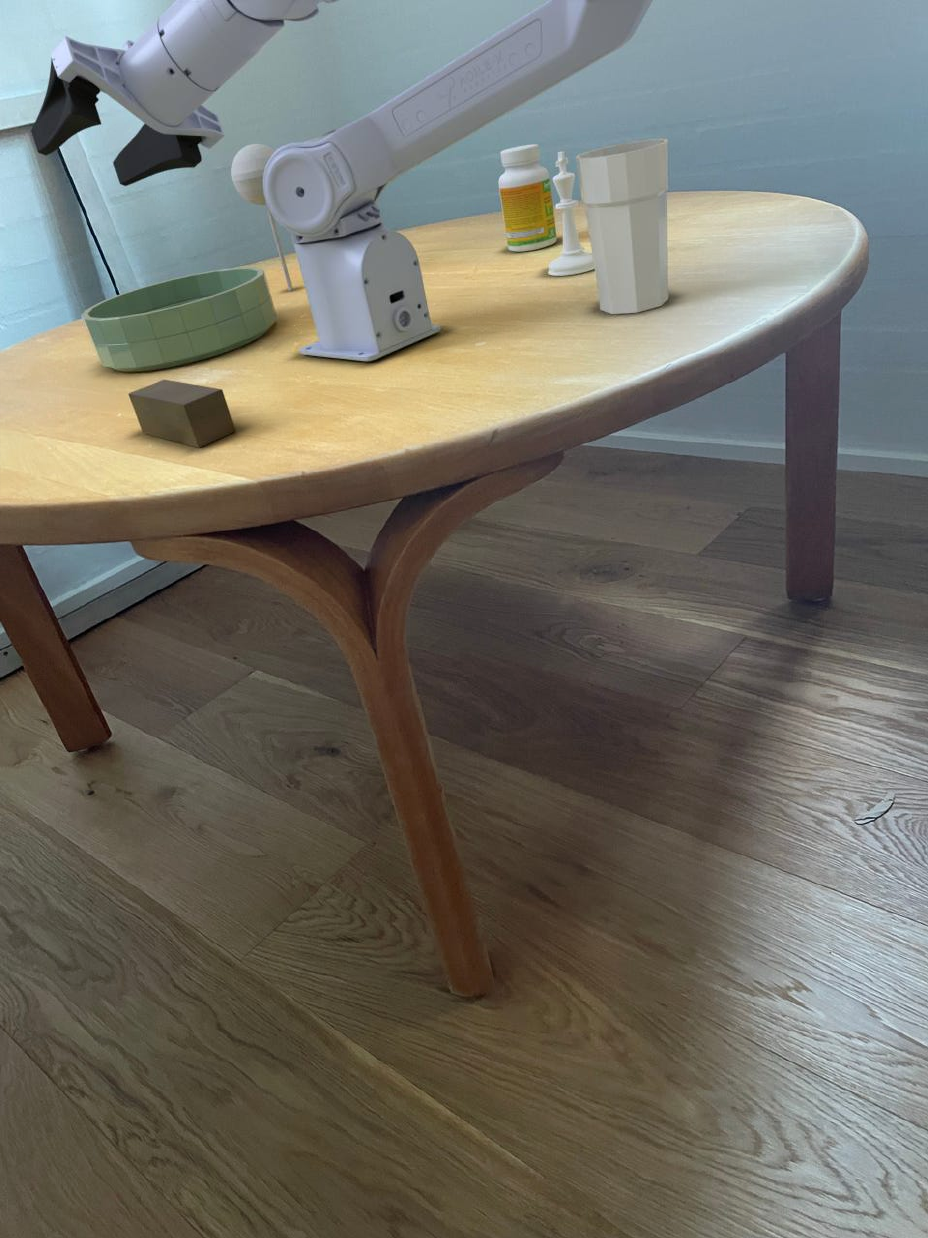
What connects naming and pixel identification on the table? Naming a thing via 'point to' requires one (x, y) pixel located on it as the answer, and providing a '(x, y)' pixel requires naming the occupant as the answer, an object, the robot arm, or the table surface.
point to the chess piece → (568, 227)
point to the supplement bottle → (526, 200)
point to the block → (182, 412)
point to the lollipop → (255, 184)
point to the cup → (627, 222)
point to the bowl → (181, 319)
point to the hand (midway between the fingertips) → (80, 159)
